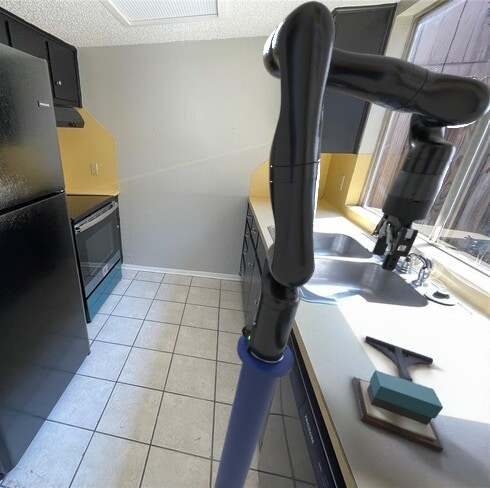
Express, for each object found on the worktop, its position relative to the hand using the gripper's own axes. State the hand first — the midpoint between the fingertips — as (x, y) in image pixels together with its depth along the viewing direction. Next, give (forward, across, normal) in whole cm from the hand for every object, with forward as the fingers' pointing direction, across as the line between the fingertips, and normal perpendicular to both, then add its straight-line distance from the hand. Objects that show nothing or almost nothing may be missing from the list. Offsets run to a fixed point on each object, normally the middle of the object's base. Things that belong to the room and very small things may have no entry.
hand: (381, 261), depth 61 cm
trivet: (+28, +16, +7) cm, 33 cm away
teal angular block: (+26, +16, +7) cm, 32 cm away
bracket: (+28, 0, +13) cm, 31 cm away
